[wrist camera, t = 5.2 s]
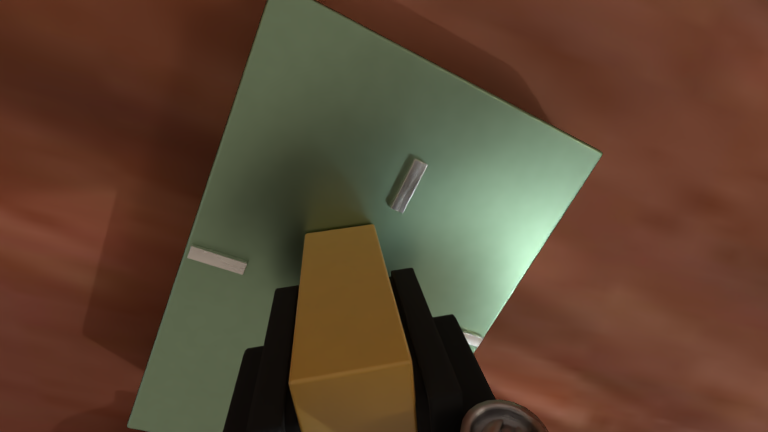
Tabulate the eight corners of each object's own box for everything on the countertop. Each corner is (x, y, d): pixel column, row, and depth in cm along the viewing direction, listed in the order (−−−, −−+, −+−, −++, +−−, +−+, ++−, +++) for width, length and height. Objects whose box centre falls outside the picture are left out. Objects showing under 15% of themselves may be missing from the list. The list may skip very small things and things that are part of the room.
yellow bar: (304, 232, 10) (285, 397, 5) (374, 222, 10) (416, 374, 6) (330, 367, 12) (333, 580, 7) (389, 357, 12) (431, 558, 7)
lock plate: (283, -9, 10) (272, -24, 8) (563, 137, 12) (609, 154, 10) (151, 377, 14) (122, 433, 12) (385, 429, 16) (394, 482, 14)
